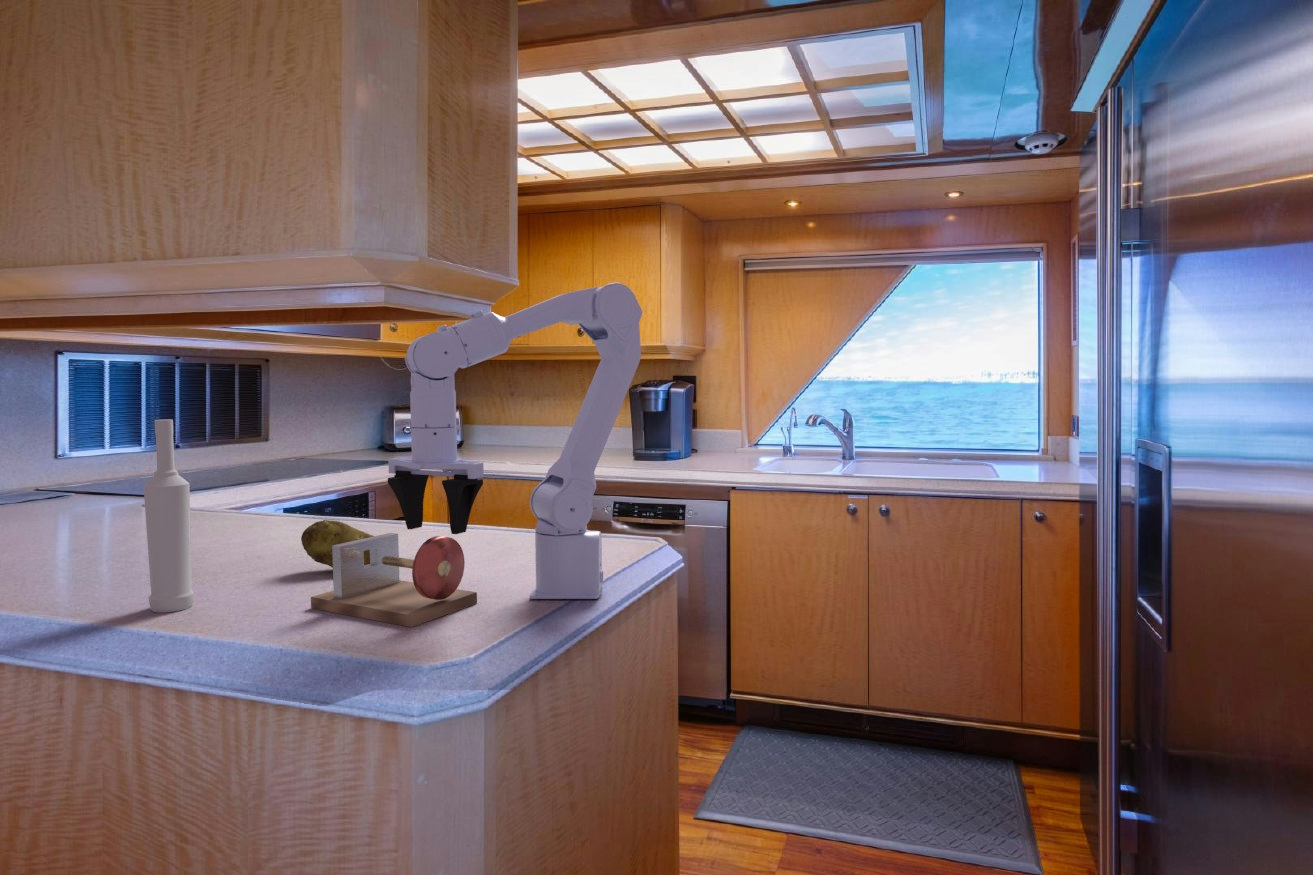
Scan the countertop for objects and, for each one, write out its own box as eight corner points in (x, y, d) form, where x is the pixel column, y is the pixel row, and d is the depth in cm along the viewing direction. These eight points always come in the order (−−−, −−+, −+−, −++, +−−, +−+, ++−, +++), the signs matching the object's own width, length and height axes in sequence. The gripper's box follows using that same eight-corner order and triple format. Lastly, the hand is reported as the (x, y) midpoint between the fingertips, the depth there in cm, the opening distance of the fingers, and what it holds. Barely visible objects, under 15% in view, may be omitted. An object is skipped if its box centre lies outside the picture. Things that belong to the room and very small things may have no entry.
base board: (311, 607, 107) (310, 596, 106) (381, 587, 117) (380, 577, 117) (411, 627, 98) (411, 615, 98) (477, 603, 109) (476, 592, 109)
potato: (372, 577, 123) (370, 525, 122) (294, 575, 125) (292, 524, 124) (396, 565, 131) (395, 516, 131) (323, 563, 133) (321, 515, 132)
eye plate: (333, 598, 106) (332, 545, 105) (391, 581, 115) (390, 532, 114) (341, 599, 105) (340, 546, 105) (399, 582, 114) (398, 533, 113)
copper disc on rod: (360, 596, 105) (358, 535, 104) (405, 582, 112) (404, 525, 111) (423, 607, 100) (421, 543, 99) (466, 592, 107) (465, 532, 106)
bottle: (185, 599, 111) (177, 418, 109) (201, 606, 107) (193, 419, 106) (143, 608, 107) (134, 420, 105) (158, 615, 103) (148, 421, 102)
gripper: (369, 427, 104) (372, 530, 105) (456, 430, 98) (458, 540, 99) (409, 424, 111) (411, 522, 112) (493, 427, 104) (495, 531, 105)
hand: (436, 530), depth 106 cm, fingers open, 7 cm apart
